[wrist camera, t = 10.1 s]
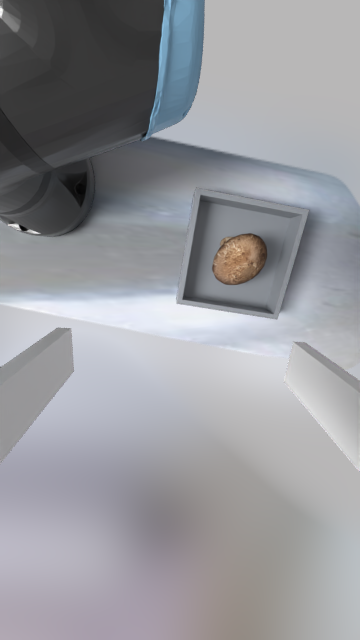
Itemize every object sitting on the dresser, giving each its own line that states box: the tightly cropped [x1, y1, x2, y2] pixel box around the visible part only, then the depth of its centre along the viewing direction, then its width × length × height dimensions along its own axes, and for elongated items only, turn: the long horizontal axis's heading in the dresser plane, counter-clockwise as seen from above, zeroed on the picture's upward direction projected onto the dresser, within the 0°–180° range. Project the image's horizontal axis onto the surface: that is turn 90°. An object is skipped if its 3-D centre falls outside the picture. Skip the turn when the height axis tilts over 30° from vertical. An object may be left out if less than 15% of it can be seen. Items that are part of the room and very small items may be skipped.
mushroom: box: [212, 233, 267, 285], centre depth 34 cm, size 8×8×6 cm
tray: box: [176, 188, 309, 319], centre depth 35 cm, size 15×15×4 cm
